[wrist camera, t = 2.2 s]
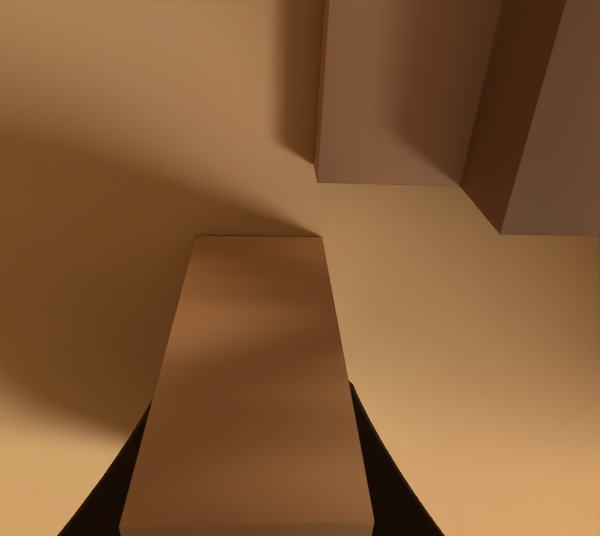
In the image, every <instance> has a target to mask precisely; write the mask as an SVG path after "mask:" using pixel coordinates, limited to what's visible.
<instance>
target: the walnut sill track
mask: <svg viewBox="0 0 600 536" xmlns="http://www.w3.org/2000/svg"><path fill="white" fill-rule="evenodd" d="M314 168H315V173H316V178H317V183H348V184H392V185H436V186H460V187H461V188H462V189H463V190H464V191H465V193H466V194H467V195H468V196H469V197H470V199H471V200H472V201H473V202H474V203H475V205H476V206H477V207H478V208H479V210H480V211H481V212H482V213H483V214H484V216H485V217H486V218H487V219H488V220H489V222H490V223H491V224H492V225H493V226H494V228H495V229H496V230H497V231H498V232H499V234H512V235H573V236H600V0H324V14H323V30H322V46H321V62H320V78H319V95H318V111H317V127H316V143H315V159H314Z"/></svg>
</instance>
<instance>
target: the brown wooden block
mask: <svg viewBox="0 0 600 536" xmlns="http://www.w3.org/2000/svg"><path fill="white" fill-rule="evenodd" d="M373 526H374V516H373V511H372V506H371V500H370V495H369V489H368V484H367V478H366V473H365V468H364V462H363V457H362V451H361V446H360V441H359V435H358V430H357V424H356V419H355V413H354V408H353V403H352V397H351V392H350V386H349V381H348V376H347V370H346V365H345V359H344V354H343V348H342V343H341V338H340V332H339V327H338V321H337V316H336V311H335V305H334V300H333V294H332V289H331V284H330V278H329V273H328V267H327V262H326V256H325V251H324V246H323V240H322V237H264V236H201V235H196V238H195V242H194V246H193V249H192V253H191V257H190V261H189V264H188V268H187V272H186V276H185V279H184V283H183V287H182V291H181V295H180V298H179V302H178V306H177V310H176V313H175V317H174V321H173V325H172V329H171V332H170V336H169V340H168V344H167V347H166V351H165V355H164V359H163V362H162V366H161V370H160V374H159V378H158V381H157V385H156V389H155V393H154V396H153V400H152V404H151V408H150V412H149V415H148V419H147V423H146V427H145V430H144V434H143V438H142V442H141V445H140V449H139V453H138V457H137V461H136V464H135V468H134V472H133V476H132V479H131V483H130V487H129V491H128V494H127V498H126V502H125V506H124V510H123V513H122V517H121V521H120V525H119V530H120V534H121V536H372V531H373Z"/></svg>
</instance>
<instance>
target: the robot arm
mask: <svg viewBox="0 0 600 536" xmlns="http://www.w3.org/2000/svg"><path fill="white" fill-rule="evenodd" d="M348 381H349V380H348ZM349 386H350V392H351V397H352V403H353V408H354V413H355V419H356V424H357V430H358V435H359V441H360V446H361V451H362V457H363V462H364V468H365V473H366V478H367V484H368V489H369V495H370V500H371V506H372V511H373V516H374V526H373V531H372V536H445V535H444V534H443V533H442V531H441V530H440V529H439V527H438V526H437V525H436V523H435V522H434V520H433V519H432V518H431V516H430V515H429V514H428V512H427V511H426V509H425V508H424V506H423V505H422V503H421V502H420V501H419V499H418V498H417V496H416V495H415V493H414V492H413V490H412V489H411V487H410V486H409V484H408V483H407V481H406V480H405V478H404V477H403V475H402V474H401V472H400V470H399V469H398V467H397V465H396V464H395V462H394V461H393V459H392V457H391V456H390V454H389V452H388V451H387V449H386V448H385V446H384V444H383V442H382V441H381V439H380V437H379V435H378V434H377V432H376V430H375V428H374V426H373V425H372V423H371V421H370V419H369V417H368V415H367V413H366V411H365V409H364V407H363V405H362V403H361V401H360V399H359V397H358V395H357V393H356V390H355V388H354V386H353V384H352V383H351V382H350V381H349ZM152 400H153V399H152ZM151 404H152V401H151V403H150V404H149V406H148V408H147V410H146V411H145V413H144V415H143V416H142V418H141V420H140V421H139V423H138V424H137V426H136V428H135V429H134V431H133V432H132V434H131V436H130V437H129V439H128V440H127V442H126V443H125V445H124V446H123V448H122V449H121V451H120V452H119V454H118V455H117V457H116V458H115V460H114V461H113V462H112V464H111V465H110V467H109V468H108V470H107V471H106V473H105V474H104V475H103V477H102V478H101V480H100V481H99V482H98V484H97V485H96V486H95V488H94V489H93V490H92V492H91V493H90V494H89V496H88V497H87V498H86V500H85V501H84V502H83V504H82V505H81V506H80V508H79V509H78V510H77V512H76V513H75V514H74V515H73V517H72V518H71V519H70V521H69V522H68V523H67V524H66V526H65V527H64V528H63V529H62V530H61V532H60V533H59V534H58V535H57V536H121V534H120V530H119V525H120V521H121V517H122V513H123V510H124V506H125V502H126V498H127V494H128V491H129V487H130V483H131V479H132V476H133V472H134V468H135V464H136V461H137V457H138V453H139V449H140V445H141V442H142V438H143V434H144V430H145V427H146V423H147V419H148V415H149V412H150V408H151Z"/></svg>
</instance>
